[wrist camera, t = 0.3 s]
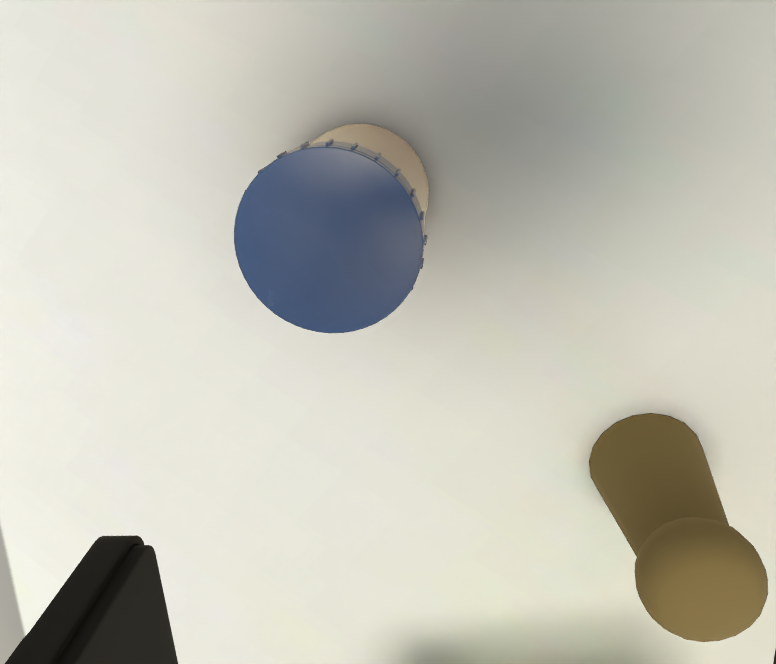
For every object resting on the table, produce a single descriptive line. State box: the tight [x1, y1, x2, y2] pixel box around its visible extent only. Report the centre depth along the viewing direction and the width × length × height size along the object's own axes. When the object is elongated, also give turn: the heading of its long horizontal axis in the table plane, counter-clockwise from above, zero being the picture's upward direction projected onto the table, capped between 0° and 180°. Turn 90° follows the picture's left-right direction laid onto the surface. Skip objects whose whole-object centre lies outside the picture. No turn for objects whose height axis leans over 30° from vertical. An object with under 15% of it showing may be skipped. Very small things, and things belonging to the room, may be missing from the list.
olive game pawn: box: [589, 413, 768, 642], centre depth 34 cm, size 6×6×11 cm
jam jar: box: [309, 124, 429, 223], centre depth 31 cm, size 7×7×9 cm
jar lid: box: [234, 139, 427, 333], centre depth 27 cm, size 7×7×2 cm
